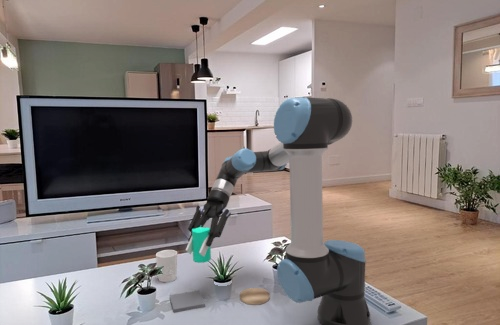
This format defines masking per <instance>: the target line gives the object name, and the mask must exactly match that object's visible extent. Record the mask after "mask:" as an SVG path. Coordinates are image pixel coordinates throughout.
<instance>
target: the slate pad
mask: <svg viewBox="0 0 500 325" xmlns="http://www.w3.org/2000/svg"><path fill="white" fill-rule="evenodd" d="M169 299H170V305H171V307H172V311H173V313H179V312H184V311H189V310H190V311H191V310H193V309H194V310H196V309H200V308H206V302H205V300H204V298H203V296H202V293H201V292H200V290H199V289H198V290H193V291H188V292H187V291H186V292H181V293H176V294H175V293H174V294H170V295H169Z"/></svg>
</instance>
